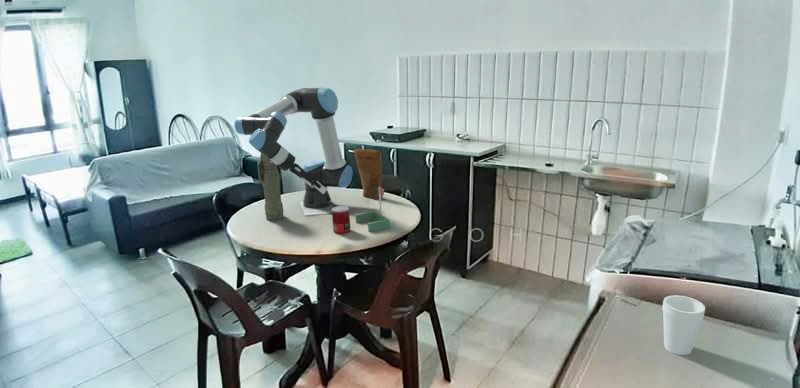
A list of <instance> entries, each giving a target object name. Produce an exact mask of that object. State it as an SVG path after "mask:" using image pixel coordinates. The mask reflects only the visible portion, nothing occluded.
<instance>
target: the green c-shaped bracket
mask: <svg viewBox="0 0 800 388" xmlns="http://www.w3.org/2000/svg"><path fill="white" fill-rule="evenodd" d="M381 194H382V196H385V189H384V188H380V187H379V212H378V211H376V210H373V211H372V210H371V211H367V212H366V211H365V212H361V213H355V223H356V224H358V223H362V222H364V223H365V222H368V221H372V222H368V223H367V232H368V233H372V232H377V231H380V230H385V229H390V228H391V225H390V218H387V217H386V216H385V215H383V214H382V213H383V212H382V199H381Z"/></svg>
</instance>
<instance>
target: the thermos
mask: <svg viewBox="0 0 800 388" xmlns="http://www.w3.org/2000/svg"><path fill="white" fill-rule="evenodd" d="M259 157H260V159H259V160H258V162H257V164H256V166H257V174H258V181H260V182H261V185H262V187H263V194H264V202H265V203H264V213H265V216H266V217H265V218H266V221H270V220H274V221H279V220H282V219H284V217H285V216H284V212H285V211H284V204H283V201H282V197H281V178H282V177H283V176H282V175H283V174H282V171H283V170H282V169H281V168H279V167H278V165H276V164H275V163H271V162H270V161H271V160H270V159H268V158H267V157H266V156H264V155H263V154H262V153H260V156H259Z"/></svg>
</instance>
